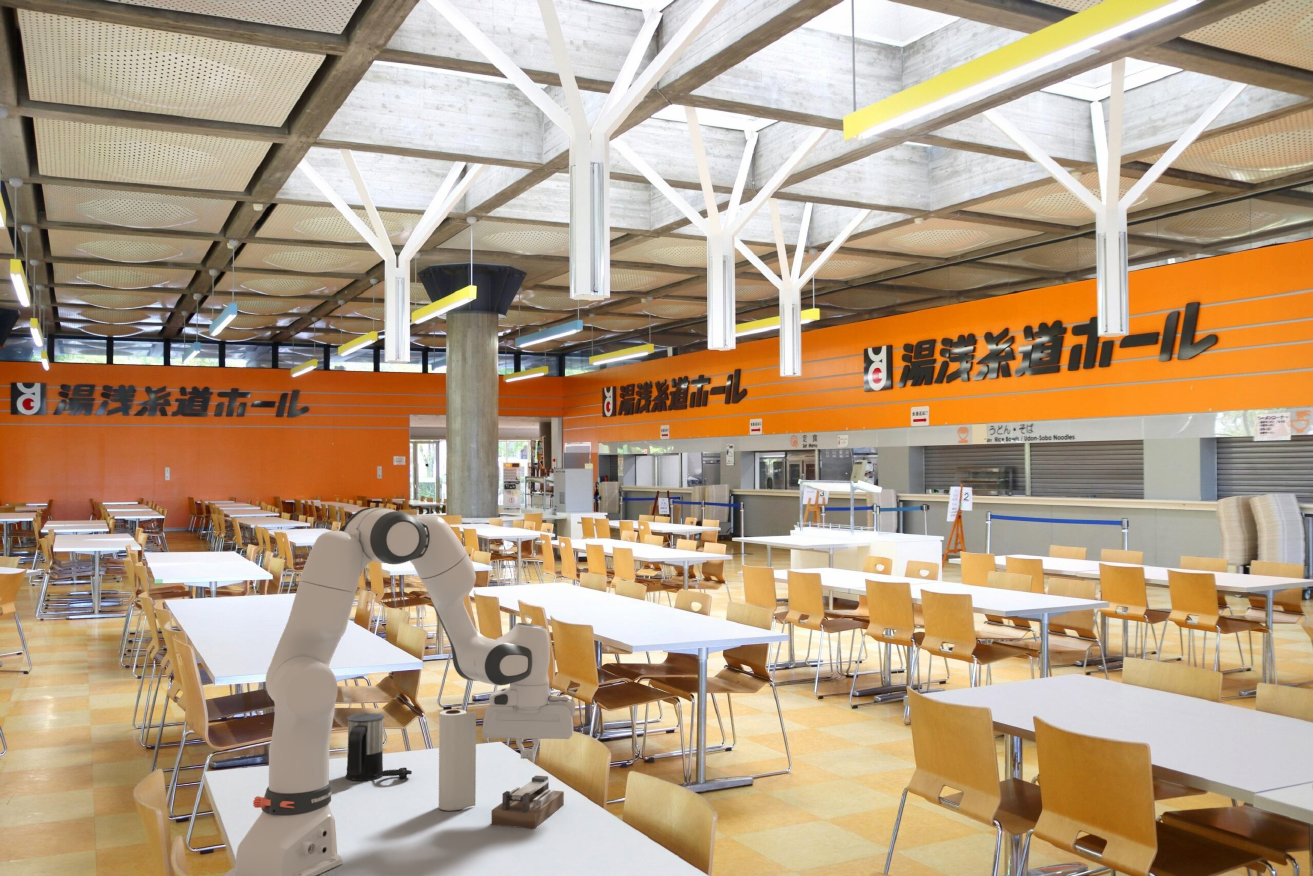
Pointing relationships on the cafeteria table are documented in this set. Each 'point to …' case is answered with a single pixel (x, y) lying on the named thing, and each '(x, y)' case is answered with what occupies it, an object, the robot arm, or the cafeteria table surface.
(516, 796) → the beige-grey bar
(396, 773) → the milk frother
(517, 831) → the cafeteria table surface
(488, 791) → the cafeteria table surface
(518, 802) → the wooden base lever press
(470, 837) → the cafeteria table surface
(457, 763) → the paper towel roll
